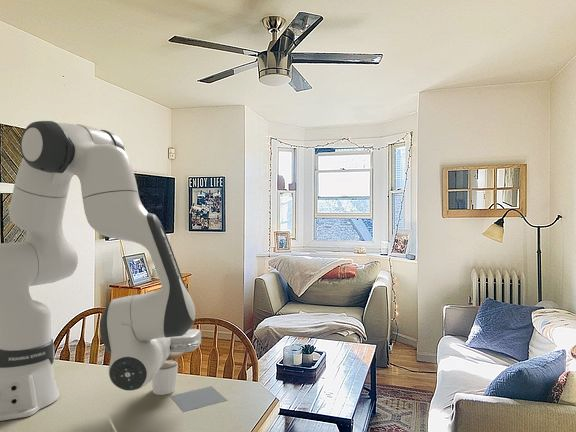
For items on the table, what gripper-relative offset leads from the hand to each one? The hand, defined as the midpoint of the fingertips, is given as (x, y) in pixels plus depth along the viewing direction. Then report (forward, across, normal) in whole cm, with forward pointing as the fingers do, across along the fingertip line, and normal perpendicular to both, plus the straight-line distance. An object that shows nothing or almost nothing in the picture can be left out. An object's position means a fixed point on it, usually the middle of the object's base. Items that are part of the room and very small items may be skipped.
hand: (165, 331), depth 111 cm
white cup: (-1, 0, +15) cm, 15 cm away
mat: (-6, -9, +15) cm, 19 cm away
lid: (-1, 0, +6) cm, 6 cm away
